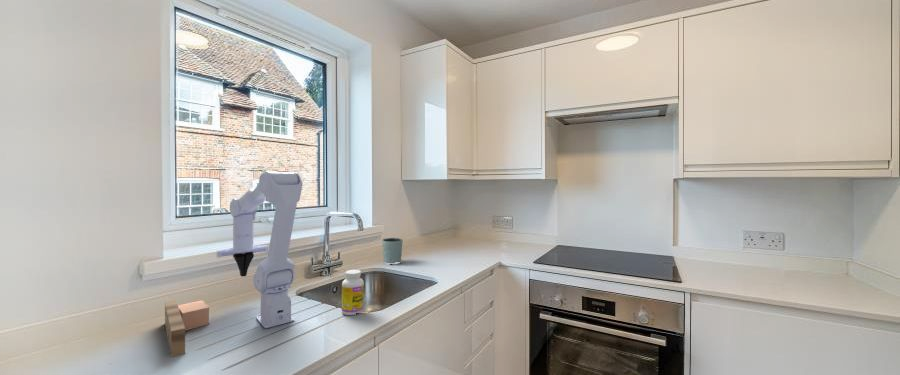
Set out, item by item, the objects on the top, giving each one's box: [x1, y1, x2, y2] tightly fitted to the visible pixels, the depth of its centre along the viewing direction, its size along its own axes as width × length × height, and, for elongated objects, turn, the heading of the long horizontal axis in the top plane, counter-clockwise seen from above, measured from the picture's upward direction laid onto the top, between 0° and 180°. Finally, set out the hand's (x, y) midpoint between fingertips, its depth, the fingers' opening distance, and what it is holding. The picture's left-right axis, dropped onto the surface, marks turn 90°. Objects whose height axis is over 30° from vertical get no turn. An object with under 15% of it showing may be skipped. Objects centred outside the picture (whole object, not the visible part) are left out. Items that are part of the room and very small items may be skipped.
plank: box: [164, 300, 186, 358], centre depth 87 cm, size 24×2×6 cm, turn 43°
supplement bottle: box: [341, 269, 365, 316], centre depth 105 cm, size 7×7×13 cm
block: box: [177, 299, 210, 331], centre depth 96 cm, size 8×6×5 cm
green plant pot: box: [381, 237, 404, 263], centre depth 168 cm, size 10×10×12 cm
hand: (243, 275), depth 111 cm, fingers closed
